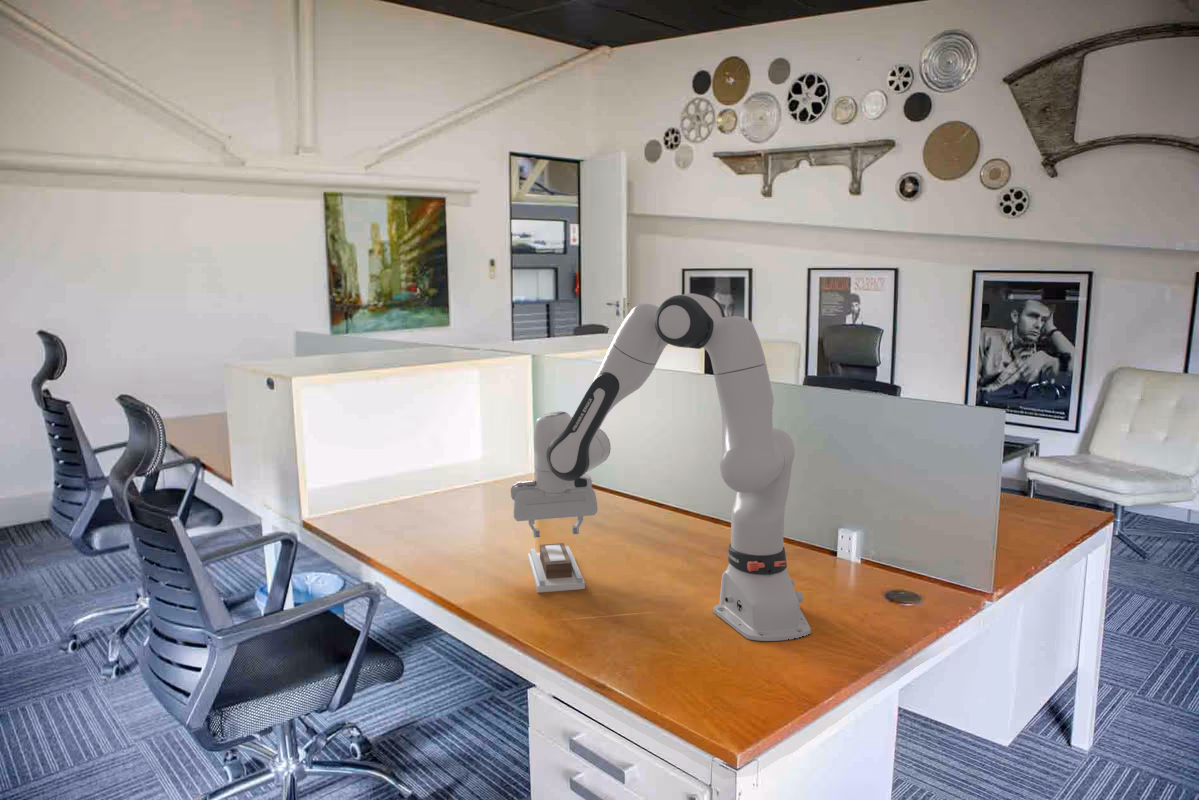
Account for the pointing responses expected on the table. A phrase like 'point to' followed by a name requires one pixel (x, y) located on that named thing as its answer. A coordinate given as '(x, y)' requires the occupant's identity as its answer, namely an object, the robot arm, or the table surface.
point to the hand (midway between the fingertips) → (556, 535)
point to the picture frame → (555, 561)
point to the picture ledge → (556, 583)
